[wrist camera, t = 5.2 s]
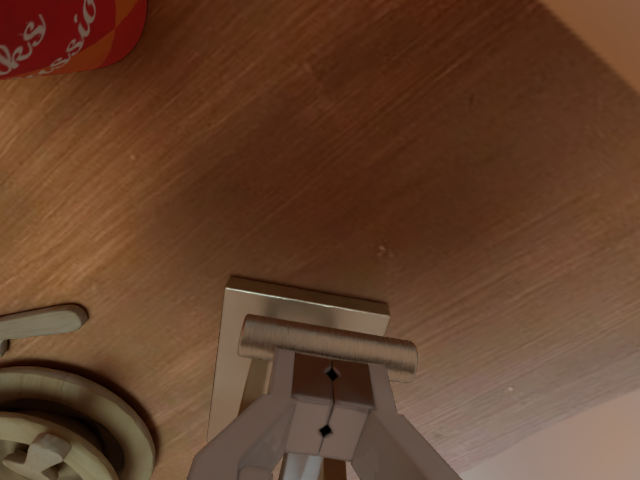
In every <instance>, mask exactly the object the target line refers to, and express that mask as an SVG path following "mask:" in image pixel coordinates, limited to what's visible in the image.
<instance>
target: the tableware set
mask: <svg viewBox="0 0 640 480" xmlns="http://www.w3.org/2000/svg"><path fill="white" fill-rule="evenodd" d="M86 321H87V315H86V313H85V311H84V310H83V309H82V308H81V307H79V306H76V305H60V306H54V307H49V308H44V309H38V310H33V311H28V312H23V313H17V314H12V315H7V316H2V317H0V357H2V356H3V355H4V353H5V352H6V350H7V339H14V338H24V337H31V336H40V335H51V334H59V333H66V332H72V331H76V330H78V329H80V328H81V327H82V325H83V324H84V323H85V322H86ZM155 455H156V453H155V446H154V443H153V440H152V437H151V434H150V432H149V430H148V428H147V427H146V425H145V424H144V422H143V420H142V419H141V418H140V417H139V416H138V414H137V413H136V412H135V411H134V410H133V409H132V408H131V407H130V406H129V405H128V404H127V403H126V402H125V401H123V400H122V399H121V398H119V397H118V396H117V395H115V394H114V393H112V392H111V391H109V390H108V389H106V388H104V387H103V386H101V385H99V384H97V383H95V382H93V381H91V380H88V379H86V378H83V377H81V376H79V375H76V374H72V373H69V372H65V371H60V370H55V369H50V368H45V367H33V366H16V367H7V368H0V480H150V478H151V475H152V473H153V469H154V465H155Z"/></svg>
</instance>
